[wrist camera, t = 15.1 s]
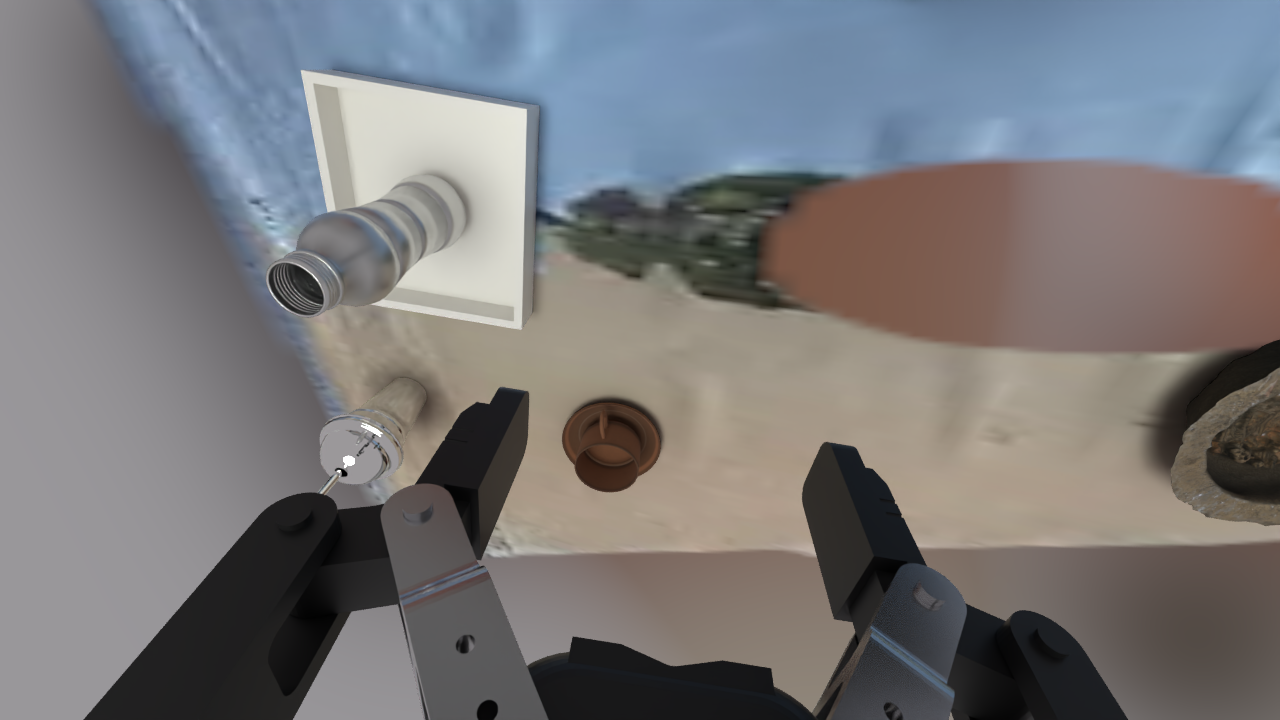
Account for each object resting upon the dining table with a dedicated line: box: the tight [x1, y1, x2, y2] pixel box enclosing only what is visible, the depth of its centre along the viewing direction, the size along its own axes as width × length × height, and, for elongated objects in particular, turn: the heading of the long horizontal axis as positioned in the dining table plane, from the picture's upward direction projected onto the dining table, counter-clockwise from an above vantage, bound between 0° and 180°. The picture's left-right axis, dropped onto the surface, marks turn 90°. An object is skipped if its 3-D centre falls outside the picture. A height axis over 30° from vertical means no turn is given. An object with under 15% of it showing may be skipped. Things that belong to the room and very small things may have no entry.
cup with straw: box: [317, 377, 427, 495], centre depth 51 cm, size 8×9×20 cm
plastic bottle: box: [266, 175, 466, 318], centre depth 37 cm, size 6×7×20 cm
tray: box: [301, 70, 540, 330], centre depth 45 cm, size 20×18×4 cm
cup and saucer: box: [562, 403, 661, 492], centre depth 58 cm, size 12×12×6 cm
